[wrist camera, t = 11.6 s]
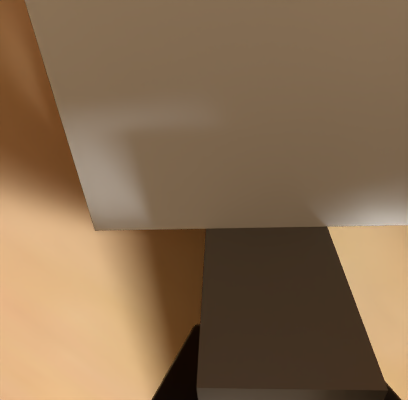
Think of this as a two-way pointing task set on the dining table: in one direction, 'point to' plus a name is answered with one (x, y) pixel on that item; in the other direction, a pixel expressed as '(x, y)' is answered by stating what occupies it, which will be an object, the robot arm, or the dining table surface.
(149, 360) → the dining table surface
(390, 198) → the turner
